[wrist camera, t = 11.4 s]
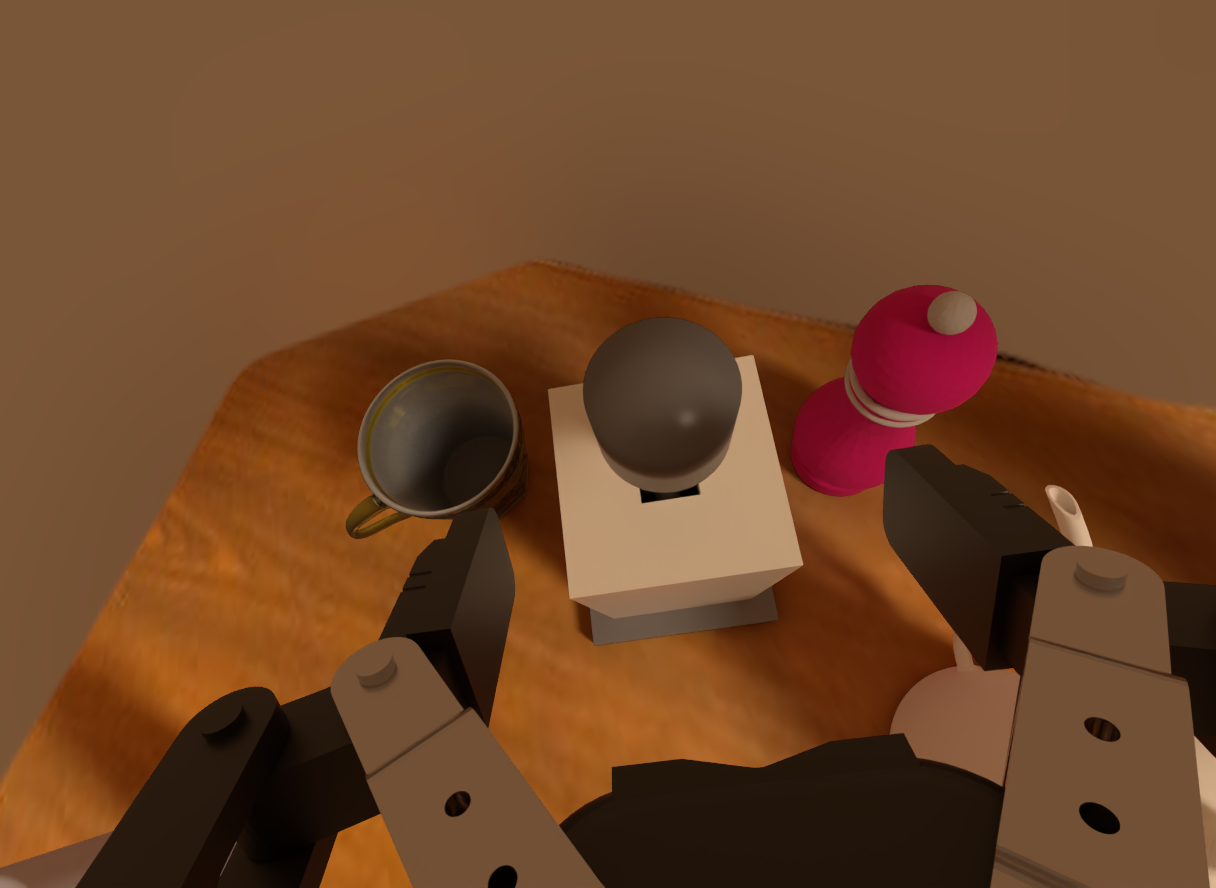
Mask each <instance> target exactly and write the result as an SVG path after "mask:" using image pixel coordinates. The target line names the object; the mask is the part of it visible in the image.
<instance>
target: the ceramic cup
mask: <svg viewBox="0 0 1216 888" xmlns="http://www.w3.org/2000/svg"><path fill="white" fill-rule="evenodd" d="M357 456H358V463H359V467H360V470H361V473H362V476H363V478H364V480H365V482H366V484H367V485H368V487H369V488H370V490H371V491H372V492H373V495H371V496H369V497H368V498H366V499H365V500H363V501H362V502H361V503H359V504H358V505H357V506H356V507H355V508H354V510H353V511H352V512H351V514H350V515H349V517H348V519H347V521H346V530H347V532H348V534H349V535H350V536H351V537H353V538H355V539H362V538H366V537H369V536H371V535H373V534H375V533H378V532H379V531H381V530H383V529H385V528H387V527H389V526H391V525H393V524H395V523H397V522H399V521H402V520H404V519H407V518H409V517H411V516H415V517H419V518H426V519H454V517H455V515H456V514H457V513H460V512H467V511H473V510H480V509H487V508H493V509H494V510H495V512H496V514H497V516H498V519H501V518H502V517H503V516H505V515H506V514H507V513H508V512H509V511H510V510H511V509H512V508H513V507H514V506H515V505H516V504H517V503H518V502H519V501H520V500H521V499H522V498H523V497H524V496H525V495H526V494H527V483H528V461H529V460H528V454H527V451H526V447H525V442H524V434H523V427H522V422H521V418H520V414H519V411H518V408H517V406H516V404H515V401H514V399H513V397H512V395H511V393H510V392H509V390H508V389H507V387H506V386H505V385H504V383H503V382H502V381H501V380H500V379H499V378H498V377H497V376H495V375H494V374H493V373H491V372H490V371H488V370H487V369H485V368H483V367H481V366H479V365H477V364H474V363H471V362H467V361H462V360H453V359H445V360H436V361H431V362H426V363H423V364H420V365H417V366H415V367H412V368H410V369H408V370H406V371H405V372H403V373H401V374H400V375H398V376H397V377H395V378H394V379H393V380H392V381H390V382H389V383H388V384H387V385H386V386H385V387H384V388H383V389H382V390H381V391H380V392H379V393H378V394H377V396H376V397H375V398H374V400H373V401H372V403H371V404H370V406H369V408H368V409H367V411H366V413H365V415H364V418H363V420H362V423H361V426H360V430H359V435H358V442H357ZM389 508H392V509H394V510H396V511H398V512H397V513H395V514H392V515H390V516H388V517H386V518H384V519H382V520H380V521H378V522H376V523H374V524H372V525H370V526H368V527H366V528H363V529H360V530H358V528H360V527H361V526H362V525H363V524H365V523H366V522H367V521H369V520H370V519H372V518H373V517H375V516H376V515H378V514H379V513H381V512H382V511H384V510H386V509H389Z"/></svg>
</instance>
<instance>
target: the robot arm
mask: <svg viewBox="0 0 1216 888" xmlns="http://www.w3.org/2000/svg"><path fill="white" fill-rule="evenodd" d="M883 524H884V529H885V533H886V536H887V539H888V541H889V543H890V545H891V547H892V548H893V550H894V551H895V552H896V554H897V555H898V556H899V558H900V559H901V560H902V562H903V563H904V564H905V566H906V567H907V568H908V570H909V571H910V572H911V574H912V575H913V577H914V578H915V579H916V581H917V582H918V583H919V585H920V586H921V587H922V589H923V590H924V591H925V593H926V594H927V595H928V597H929V598H930V599H931V601H932V602H933V603H934V605H935V606H936V607H937V609H938V610H939V611H940V613H941V614H942V615H943V617H944V618H945V619H946V621H947V622H948V623H949V625H950V626H951V627H952V629H953V630H954V632H955V633H956V634H957V636H958V637H959V638H960V640H961V641H962V642H963V644H964V645H965V646H966V648H967V649H968V650H969V652H970V653H971V654H972V656H973V657H974V658H975V660H976V661H977V662H978V664H979V665H980V666H981V668H982V669H983V670H984V671H992V670H1000V669H1009V668H1014V669H1015V671H1016V672H1017V673H1018V674H1019V676H1020V681H1019V686H1018V691H1017V697H1016V703H1015V709H1014V715H1013V721H1012V727H1011V733H1010V739H1009V745H1008V751H1007V757H1006V763H1005V769H1004V774H1003V780H1002V786H1000V785H999V784H997V783H995V782H993V781H991V780H989V779H987V778H984V777H982V776H980V775H977V774H975V773H973V772H970V771H968V770H965V769H962V768H959V767H956V766H953V765H950V764H946V763H942V762H938V761H933V760H929V759H923V758H917V757H916V755H915V754H914V752H913V750H912V748H911V746H910V744H909V742H908V740H907V738H906V736H905V735H904V733H898V734H890V735H881V736H873V737H864V738H856V739H847V740H839V741H830V742H828V743H825V744H823V745H820V746H817V747H815V748H812V749H810V750H807V751H804V752H802V753H799V754H797V755H794V756H792V757H789V758H786V759H784V760H781V761H779V762H776V763H774V764H771V765H768V766H765V767H760V768H751V767H743V766H735V765H726V764H718V763H710V762H702V761H694V760H686V759H677V760H669V761H660V762H652V763H643V764H635V765H626V766H618V767H612V792H610V793H608V794H605V795H603V796H600V797H599V798H597V799H595V800H593V801H591V802H589V803H587V804H585V805H584V806H583V807H581V808H580V809H578V810H577V811H575V812H574V813H573V814H571V815H570V816H569V817H568V818H566V819H565V820H564V821H563V822H562V823H561V824H560V825H558V824H557V822H556V821H555V820H554V818H553V817H552V816H551V814H550V813H549V811H548V810H547V809H546V807H545V806H544V805H543V803H542V802H541V800H540V799H539V798H538V796H537V795H536V794H535V792H534V791H533V790H532V788H531V787H530V785H529V784H528V783H527V781H526V780H525V779H524V777H523V776H522V774H521V773H520V772H519V770H518V769H517V768H516V766H515V765H514V764H513V762H512V761H511V759H510V758H509V757H508V755H507V754H506V753H505V751H504V750H503V749H502V747H501V746H500V744H499V743H498V742H497V740H496V739H495V738H494V736H493V735H492V733H491V732H490V731H489V729H488V727H489V722H490V717H491V712H492V707H493V702H494V697H495V692H496V687H497V682H498V677H499V672H500V667H501V662H502V657H503V652H504V647H505V642H506V637H507V632H508V627H509V622H510V617H511V613H512V608H513V603H514V597H515V580H514V572H513V568H512V564H511V561H510V557H509V554H508V550H507V547H506V543H505V540H504V537H503V533H502V530H501V526H500V523H499V519H498V516H497V514H496V512H495V510H494V509H493V508H487V509H480V510H473V511H467V512H460V513H457V514H456V515H455V517H454V519H453V521H452V524H451V526H450V529H449V531H448V533H447V536H446V538H444V539H438V540H434V541H433V542H432V543H431V544H430V545H429V546H428V547H427V548H426V549H425V550H424V551H423V552H422V553H421V554H420V555H419V556H418V557H417V559H416V561H415V563H414V565H413V567H412V569H411V572H410V574H409V575H410V577H409V578H407V580H406V582H405V585H404V587H403V592H401V593H400V595H399V597H398V600H397V602H396V604H395V606H394V608H393V610H392V612H391V615H390V617H389V619H388V621H387V623H386V625H385V627H384V630H383V632H382V634H381V636H380V638H379V640H378V641H376V642H373V643H371V644H369V645H367V646H365V647H363V648H361V649H360V650H358V651H356V652H355V653H354V654H353V655H351V656H350V657H349V658H348V659H347V660H346V661H345V662H344V663H343V664H342V665H341V666H340V667H339V669H338V670H337V672H336V673H335V675H334V677H333V679H332V683H331V687H328V688H326V689H324V690H321V691H318V692H316V693H313V694H311V695H308V696H305V697H303V698H300V699H297V700H295V701H292V702H289V703H287V704H284V705H281V706H280V704H279V702H278V700H277V699H276V697H275V695H274V694H273V692H272V691H271V690H269V689H267V688H263V687H249V688H244V689H240V690H237V691H234V692H232V693H229V694H227V695H225V696H223V697H221V698H219V699H217V700H216V701H214V702H213V703H211V704H209V705H208V706H207V707H205V708H204V709H203V710H201V711H200V712H199V713H198V714H197V715H195V716H194V717H193V718H192V719H191V720H190V721H189V722H188V723H187V724H186V726H185V727H184V728H183V729H182V731H181V732H180V733H179V735H178V736H177V738H176V739H175V741H174V742H173V744H172V745H171V747H170V748H169V750H168V751H167V753H166V754H165V756H164V757H163V759H162V760H161V762H160V763H159V764H158V766H157V767H156V769H155V770H154V772H153V773H152V775H151V776H150V778H149V779H148V781H147V782H146V784H145V785H144V787H143V788H142V790H141V791H140V793H139V794H138V796H137V797H136V798H135V800H134V801H133V803H132V804H131V806H130V807H129V809H128V810H127V812H126V813H125V815H124V816H123V818H122V819H121V821H120V822H119V824H118V825H117V827H116V828H115V830H114V831H113V832H112V834H111V835H110V837H109V838H108V840H107V841H106V843H105V844H104V846H103V847H102V849H101V850H100V852H99V853H98V855H97V856H96V858H95V859H94V861H93V862H92V864H91V865H90V866H89V868H88V869H87V871H86V872H85V874H84V875H83V877H82V878H81V880H80V881H79V883H78V884H77V886H76V887H75V888H319V887H320V884H321V881H322V878H323V875H324V872H325V869H326V866H327V863H328V860H329V857H330V854H331V851H332V848H333V845H334V842H335V839H336V837H337V834H338V832H339V831H342V830H344V829H346V828H349V827H351V826H353V825H356V824H358V823H360V822H362V821H365V820H367V819H369V818H372V817H374V816H376V815H378V814H381V815H382V817H383V820H384V822H385V824H386V826H387V829H388V831H389V833H390V836H391V838H392V840H393V843H394V845H395V847H396V850H397V852H398V854H399V856H400V859H401V861H402V863H403V866H404V868H405V870H406V873H407V875H408V877H409V879H410V882H411V884H412V886H413V888H1210V883H1209V874H1208V864H1207V855H1206V845H1205V836H1204V826H1203V817H1202V807H1201V798H1200V788H1199V779H1198V769H1197V760H1196V750H1195V741H1194V736H1195V737H1196V738H1197V739H1198V740H1199V741H1200V742H1201V743H1202V745H1203V746H1204V747H1205V748H1206V749H1207V750H1208V751H1209V752H1210V753H1211V754H1212V755H1213V756H1214V757H1215V758H1216V585H1204V584H1190V583H1176V582H1164V581H1162V580H1161V578H1160V577H1159V576H1158V575H1157V574H1156V573H1155V572H1154V571H1153V570H1152V569H1151V568H1149V567H1148V566H1146V565H1145V564H1143V563H1142V562H1140V561H1138V560H1136V559H1134V558H1132V557H1129V556H1127V555H1124V554H1122V553H1119V552H1115V551H1112V550H1108V549H1104V548H1098V547H1092V546H1076V545H1074V544H1073V543H1072V542H1071V541H1070V540H1068V539H1067V538H1066V537H1065V536H1063V535H1062V534H1061V533H1060V532H1059V531H1057V530H1056V529H1055V528H1054V527H1052V526H1051V525H1050V524H1049V523H1047V522H1046V521H1045V520H1044V519H1043V518H1041V517H1040V516H1039V515H1038V514H1036V513H1035V512H1034V511H1033V510H1032V509H1030V508H1029V507H1028V506H1026V507H1025V506H1024V503H1023V502H1022V501H1021V500H1019V499H1018V498H1017V497H1016V496H1014V495H1013V494H1009V492H1008V490H1007V489H1006V488H1005V487H1003V486H1002V485H1001V484H1000V483H998V482H997V481H996V480H995V479H994V478H992V477H991V476H990V475H987V474H985V473H983V472H980V471H978V470H976V469H973V468H971V467H968V466H966V465H964V464H962V465H955V464H954V463H953V462H952V461H950V460H949V459H948V458H947V457H946V456H945V455H943V454H942V453H941V452H940V451H939V450H938V449H937V448H935V447H934V446H933V445H930V444H927V445H920V446H914V447H907V448H900V449H893V450H890V451H889V452H888V453H887V455H886V459H885V477H884V500H883ZM236 842H237V843H236ZM235 843H236V845H235ZM234 846H235V847H234ZM233 848H234V849H233ZM232 850H233V851H232ZM231 852H232V853H231ZM230 854H231V855H230ZM229 856H230V857H229ZM228 858H229V859H228ZM227 860H228V861H227ZM226 862H227V863H226ZM225 864H226V865H225ZM224 866H225V867H224ZM223 868H224V870H223ZM222 871H223V872H222ZM221 873H222V874H221ZM220 875H221V876H220Z"/></svg>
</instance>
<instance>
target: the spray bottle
mask: <svg viewBox="0 0 1216 888" xmlns="http://www.w3.org/2000/svg"><path fill="white" fill-rule="evenodd" d="M112 832H113V831H112ZM112 832H109V833H106V834H103V835H100V836H97V837H94V838H91V839H88V840H84V841H81V842H78V843H75V844H72V845H69V846H66V847H63V848H60V849H57V850H54V851H51V852H48V853H45V854H42V855H39V856H35V857H32V858H29V859H26V860H23V861H20V862H17V863H14V864H11V865H8V866H5V867H2V868H0V888H75V887H76V886H77V884H78V883H79V881H80V880H81V878H82V877H83V875H84V874H85V872H86V871H87V869H88V868H89V866H90V865H91V864H92V862H93V861H94V859H95V858H96V856H97V855H98V853H99V852H100V850H101V849H102V847H103V846H104V844H105V843H106V841H107V840H108V838H109V837H110V835H111V834H112ZM236 843H237V842H236ZM236 843H235V845H236ZM234 847H235V846H234ZM233 849H234V848H233ZM232 851H233V850H232ZM231 853H232V852H231ZM230 855H231V854H230ZM229 857H230V856H229ZM228 859H229V858H228ZM227 861H228V860H227ZM226 863H227V862H226ZM225 865H226V864H225ZM224 867H225V866H224ZM223 870H224V868H223ZM222 872H223V871H222ZM221 874H222V873H221ZM220 876H221V875H220Z"/></svg>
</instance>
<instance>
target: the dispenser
mask: <svg viewBox="0 0 1216 888" xmlns="http://www.w3.org/2000/svg"><path fill="white" fill-rule="evenodd" d="M735 360H736V362H737V364H738V367H739V370H740V374H741V380H742V398H741V404H740V408H739V412H738V415H737V419H736V423H735V427H734V431H733V434H732V438H731V442H730V445H729V449H728V451H727V454H726V456H725V458H724V459H723V461H722V463H721V464H720V466H719V467H718V468H717V469H716V470H715V471H714V472H713V473H712V474H711V475H710V476H709V477H708V478H706V479H705V480H704V481H702V482H701V483H699V484H697V485H695V486H693V487H690V488H688V489H685V490H681V493H680V498H675V499H668V500H662V501H656V499H655V492H652V491H647V490H643V489H640V488H637V487H635V486H633V485H631V484H629V483H628V482H626V481H624V480H623V479H622V478H620V477H619V476H618V475H617V474H616V473H615V472H614V471H613V470H612V469H611V468H610V466H609V465H608V464H607V462H606V461H605V459H604V457H603V455H602V453H601V450H600V447H599V445H598V442H597V440H596V437H595V434H594V432H593V429H592V427H591V424H590V422H589V419H588V416H587V413H586V411H585V406H584V401H583V383H582V384H576V385H570V386H564V387H558V388H552V389H548V395H549V404H550V414H551V424H552V433H553V443H554V452H555V462H556V471H557V481H558V491H559V500H560V510H561V519H562V529H563V539H564V548H565V558H566V567H567V577H568V587H569V596H570V599H571V600H574V601H576V602H578V603H580V604H582V605H585V606H587V607H589V608H590V616H591V624H592V633H593V642H594V646H598V645H606V644H613V643H620V642H627V641H635V640H642V639H649V638H656V637H663V636H671V635H678V634H685V633H692V632H700V631H707V630H714V629H721V628H728V627H736V626H743V625H750V624H757V623H765V622H772V621H777V620H779V617H778V612H777V608H776V603H775V599H774V594H773V589H772V585H774V584H775V583H777V582H778V581H780V580H781V579H783V578H784V577H786V576H787V575H789V574H791V573H792V572H794V571H795V570H797V569H798V568H800V567H801V566H803V562H802V557H801V553H800V549H799V545H798V540H797V536H796V532H795V528H794V524H793V519H792V515H791V511H790V507H789V503H788V498H787V494H786V490H785V486H784V482H783V477H782V473H781V469H780V465H779V461H778V456H777V452H776V448H775V444H774V440H773V435H772V431H771V427H770V423H769V419H768V414H767V410H766V406H765V402H764V398H763V393H762V389H761V385H760V381H759V377H758V372H757V368H756V364H755V360H754V355H751V356H745V357H738V358H735Z"/></svg>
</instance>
